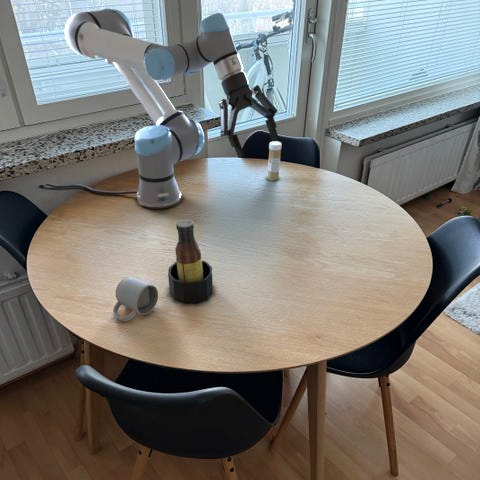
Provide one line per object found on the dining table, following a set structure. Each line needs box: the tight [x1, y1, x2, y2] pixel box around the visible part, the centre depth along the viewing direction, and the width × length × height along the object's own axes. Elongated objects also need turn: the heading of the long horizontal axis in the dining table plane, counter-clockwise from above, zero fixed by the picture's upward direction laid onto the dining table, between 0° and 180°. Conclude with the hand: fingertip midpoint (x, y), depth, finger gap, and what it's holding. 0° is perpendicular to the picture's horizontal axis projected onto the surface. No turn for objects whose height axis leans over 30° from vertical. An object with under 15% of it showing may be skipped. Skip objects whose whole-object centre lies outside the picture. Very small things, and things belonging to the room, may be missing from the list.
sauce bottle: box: [175, 218, 203, 282], centre depth 108 cm, size 7×6×20 cm
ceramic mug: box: [112, 277, 159, 322], centre depth 106 cm, size 11×8×8 cm
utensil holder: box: [167, 259, 214, 305], centre depth 112 cm, size 11×11×6 cm
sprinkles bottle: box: [266, 140, 283, 181], centre depth 165 cm, size 5×5×14 cm
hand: (259, 148), depth 135 cm, fingers open, 13 cm apart
